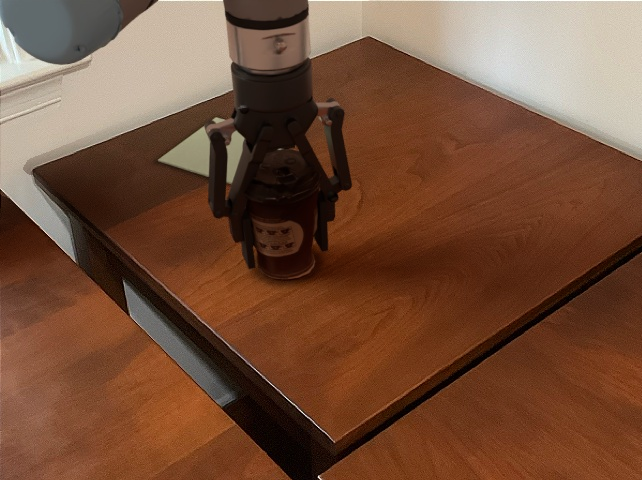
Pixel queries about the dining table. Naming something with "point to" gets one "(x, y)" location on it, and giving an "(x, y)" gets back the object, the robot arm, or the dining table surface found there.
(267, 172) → the coffee cup
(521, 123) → the dining table surface
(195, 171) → the mat
